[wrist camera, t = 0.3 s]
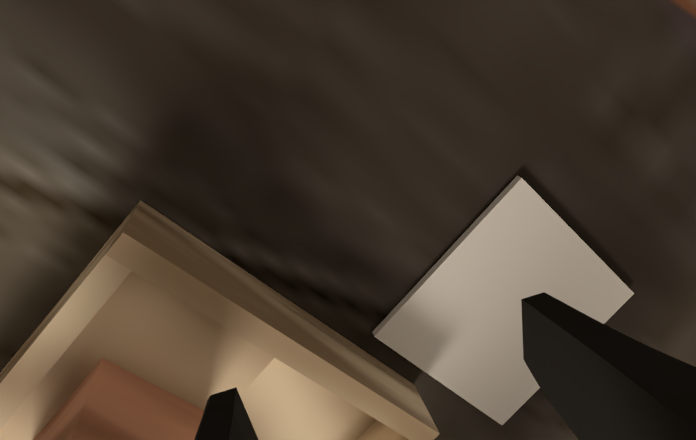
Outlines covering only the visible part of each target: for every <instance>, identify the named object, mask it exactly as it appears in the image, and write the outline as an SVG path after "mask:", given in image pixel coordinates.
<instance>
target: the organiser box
mask: <svg viewBox="0 0 696 440" xmlns="http://www.w3.org/2000/svg"><path fill="white" fill-rule="evenodd" d="M102 358H104V359H106V360H108V361H110V362H112V363H113V364H115V365H117V366H119V367H121V368H123V369H125V370H127V371H129V372H131V373H133V374H135V375H136V376H138V377H140V378H142V379H144V380H146V381H148V382H150V383H152V384H154V385H156V386H158V387H160V388H161V389H163V390H165V391H167V392H169V393H171V394H173V395H175V396H177V397H179V398H181V399H183V400H184V401H186V402H188V403H190V404H192V405H194V406H196V407H198V408H200V409H202V410H204V409H205V406H206V403H207V400H208V398H209V397H210V395H213V394H216V393H219V392H222V391H226V390H229V389H232V388H235V387H236V388H237V390H238V393H239V395H240V397H241V400H242V402H243V404H244V407H245V409H246V411H247V414H248V416H249V418H250V421H251V423H252V425H253V428H254V430H255V433H256V435H257V437H258V440H434V439H435V438H436V437H437V436H438V435H439V434H440V433H439V431H438V429H437V427H436V426H435V424H434V422H433V420H432V418H431V416H430V414H429V412H428V410H427V408H426V406H425V404H424V403H423V401H422V399H421V397H420V395H419V393H418V391H417V389H416V387H415V385H414V384H413V383H411V382H410V381H408V380H407V379H405V378H404V377H402V376H401V375H399V374H398V373H396V372H395V371H393V370H392V369H390V368H389V367H387V366H386V365H385V364H383V363H382V362H380V361H379V360H377V359H376V358H374V357H373V356H371V355H370V354H368V353H367V352H365V351H364V350H362V349H361V348H359V347H358V346H356V345H355V344H353V343H352V342H350V341H349V340H347V339H346V338H344V337H343V336H341V335H340V334H338V333H337V332H335V331H334V330H333V329H331V328H330V327H328V326H327V325H325V324H324V323H322V322H321V321H319V320H318V319H316V318H315V317H313V316H312V315H310V314H309V313H307V312H306V311H304V310H303V309H301V308H300V307H298V306H297V305H295V304H294V303H292V302H291V301H289V300H288V299H286V298H285V297H283V296H282V295H281V294H279V293H278V292H276V291H275V290H273V289H272V288H270V287H269V286H267V285H266V284H264V283H263V282H261V281H260V280H258V279H257V278H255V277H254V276H252V275H251V274H249V273H248V272H246V271H245V270H243V269H242V268H240V267H239V266H237V265H236V264H234V263H233V262H231V261H230V260H229V259H227V258H226V257H224V256H223V255H221V254H220V253H218V252H217V251H215V250H214V249H212V248H211V247H209V246H208V245H206V244H205V243H203V242H202V241H200V240H199V239H197V238H196V237H194V236H193V235H191V234H190V233H188V232H187V231H185V230H184V229H182V228H181V227H180V226H178V225H177V224H175V223H174V222H172V221H171V220H169V219H168V218H166V217H165V216H163V215H162V214H160V213H159V212H157V211H156V210H154V209H153V208H151V207H150V206H148V205H147V204H145V203H144V202H142V201H141V200H140V201H139V203H138V204H137V205H136V206H135V208H134V209H133V210H132V211H131V212H130V214H129V215H128V216H127V217H126V219H125V220H124V221H123V222H122V224H121V225H120V226H119V227H118V228H117V230H116V231H115V232H114V233H113V235H112V236H111V237H110V238H109V240H108V241H107V242H106V243H105V244H104V246H103V247H102V248H101V249H100V251H99V252H98V253H97V254H96V256H95V257H94V258H93V259H92V260H91V262H90V263H89V264H88V265H87V267H86V268H85V269H84V270H83V272H82V273H81V274H80V275H79V276H78V278H77V279H76V280H75V281H74V283H73V284H72V285H71V286H70V288H69V289H68V290H67V291H66V293H65V294H64V295H63V296H62V297H61V299H60V300H59V301H58V302H57V304H56V305H55V306H54V307H53V309H52V310H51V311H50V312H49V313H48V315H47V316H46V317H45V318H44V320H43V321H42V322H41V323H40V325H39V326H38V327H37V328H36V329H35V331H34V332H33V333H32V334H31V336H30V337H29V338H28V339H27V341H26V342H25V343H24V344H23V345H22V347H21V348H20V349H19V350H18V352H17V353H16V354H15V355H14V357H13V358H12V359H11V360H10V361H9V363H8V364H7V365H6V366H5V368H4V369H3V370H2V371H1V373H0V440H34V438H35V437H36V436H37V435H38V434H39V433H40V431H41V430H42V429H43V428H44V427H45V425H46V424H47V423H48V422H49V421H50V420H51V418H52V417H53V416H54V415H55V414H56V412H57V411H58V410H59V409H60V408H61V406H62V405H63V404H64V403H65V402H66V401H67V399H68V398H69V397H70V396H71V395H72V393H73V392H74V391H75V390H76V389H77V387H78V386H79V385H80V384H81V383H82V382H83V380H84V379H85V378H86V377H87V376H88V374H89V373H90V372H91V371H92V370H93V368H94V367H95V366H96V365H97V364H98V363H99V361H100V360H101V359H102Z"/></svg>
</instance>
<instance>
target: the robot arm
mask: <svg viewBox="0 0 696 440" xmlns="http://www.w3.org/2000/svg"><path fill="white" fill-rule="evenodd" d="M521 305H522V333H523V360H524V361H525V363H526V365H527V366H528V368H529V370H530V372H531V373H532V375H533V377H534V379H535V380H536V382H537V383H538V385H539V387H540V388H541V390H542V392H543V393H544V395H545V396H546V398H547V399H548V400H549V402H550V403H551V404H552V406H553V407H554V408H555V409H556V411H557V412H558V413H559V415H560V416H561V417H562V419H563V420H564V421H565V422H566V424H567V425H568V426H569V428H570V429H571V430H572V431H573V433H574V434H575V435H576V437H577V438H578V439H579V440H696V367H694V366H692V365H690V364H687V363H685V362H682V361H680V360H678V359H675V358H673V357H671V356H669V355H666V354H664V353H662V352H660V351H658V350H655V349H653V348H651V347H649V346H647V345H644V344H642V343H640V342H638V341H636V340H634V339H632V338H630V337H628V336H626V335H624V334H622V333H620V332H618V331H616V330H614V329H612V328H610V327H608V326H606V325H604V324H603V323H601V322H599V321H597V320H595V319H593V318H591V317H589V316H587V315H586V314H584V313H582V312H580V311H578V310H576V309H575V308H573V307H571V306H569V305H567V304H565V303H563V302H562V301H560V300H558V299H556V298H554V297H552V296H550V295H548V294H547V293H545V292H543V293H540V294H537V295H533V296H530V297H527V298H524V299H521ZM194 440H258V437H257V435H256V433H255V430H254V428H253V425H252V423H251V421H250V418H249V416H248V414H247V411H246V409H245V407H244V404H243V402H242V400H241V397H240V395H239V393H238V390H237V388H236V387H235V388H232V389H229V390H226V391H222V392H219V393H216V394H213V395H210V397H209V398H208V400H207V403H206V406H205V409H204V412H203V416H202V419H201V422H200V424H199V427H198V430H197V433H196V436H195V439H194Z"/></svg>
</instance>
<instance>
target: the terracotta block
mask: <svg viewBox="0 0 696 440" xmlns="http://www.w3.org/2000/svg"><path fill="white" fill-rule="evenodd" d="M203 412H204V410H202V409H200V408H198V407H196V406H194V405H192V404H190V403H188V402H186V401H184V400H183V399H181V398H179V397H177V396H175V395H173V394H171V393H169V392H167V391H165V390H163V389H161V388H160V387H158V386H156V385H154V384H152V383H150V382H148V381H146V380H144V379H142V378H140V377H138V376H136V375H135V374H133V373H131V372H129V371H127V370H125V369H123V368H121V367H119V366H117V365H115V364H113V363H112V362H110V361H108V360H106V359H104V358H102V359H101V360H100V361H99V363H98V364H97V365H96V366H95V367H94V368H93V370H92V371H91V372H90V373H89V374H88V376H87V377H86V378H85V379H84V380H83V382H82V383H81V384H80V385H79V386H78V387H77V389H76V390H75V391H74V392H73V393H72V395H71V396H70V397H69V398H68V399H67V401H66V402H65V403H64V404H63V405H62V406H61V408H60V409H59V410H58V411H57V412H56V414H55V415H54V416H53V417H52V418H51V420H50V421H49V422H48V423H47V424H46V425H45V427H44V428H43V429H42V430H41V431H40V433H39V434H38V435H37V436H36V437H35V438H34V440H194V439H195V436H196V433H197V430H198V427H199V424H200V422H201V419H202V416H203Z"/></svg>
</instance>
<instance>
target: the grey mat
mask: <svg viewBox="0 0 696 440" xmlns="http://www.w3.org/2000/svg"><path fill="white" fill-rule="evenodd" d="M543 292H545V293H547V294H548V295H550V296H552V297H554V298H556V299H558V300H560V301H562V302H563V303H565V304H567V305H569V306H571V307H573V308H575V309H576V310H578V311H580V312H582V313H584V314H586V315H587V316H589V317H591V318H593V319H595V320H597V321H599V322H601V323H603V324H604V323H605V322H606V321H607V320H608V319H609V318H610V317H611V316H612V315H613V314H614V313H615V312H616V311H617V310H618V309H619V308H620V307H621V306H622V305H623V304H624V303H625V302H626V301H627V300H628V299H629V298H630V297H631V296H632V295H633V294H634V293H633V292H632V291H631V290H630V289H629V288H628V287H627V285H626V284H625V283H624V282H623V281H622V280H621V279H620V278H619V277H618V276H617V275H616V274H615V273H614V272H613V271H612V270H611V269H610V268H609V267H608V266H607V265H606V264H605V263H604V262H603V261H602V260H601V259H600V258H599V257H598V256H597V255H596V254H595V253H594V252H593V251H592V250H591V248H590V247H589V246H588V245H587V244H586V243H585V242H584V241H583V240H582V239H581V238H580V237H579V236H578V235H577V234H576V233H575V232H574V231H573V230H572V229H571V228H570V227H569V226H568V225H567V224H566V223H565V222H564V221H563V220H562V219H561V218H560V217H559V216H558V215H557V214H556V212H555V211H554V210H553V209H552V208H551V207H550V206H549V205H548V204H547V203H546V202H545V201H544V200H543V199H542V198H541V197H540V196H539V195H538V194H537V193H536V192H535V191H534V190H533V189H532V188H531V187H530V186H529V185H528V184H527V183H526V182H525V181H524V180H523V179H522V178H521V177H519V176H516V177H515V178H514V179H513V180H512V182H511V183H510V184H509V185H508V186H507V187H506V188H505V189H504V190H503V191H502V192H501V193H500V195H499V196H498V197H497V198H496V199H495V200H494V201H493V202H492V203H491V204H490V205H489V206H488V207H487V209H486V210H485V211H484V212H483V213H482V214H481V215H480V216H479V217H478V218H477V219H476V220H475V222H474V223H473V224H472V225H471V226H470V227H469V228H468V229H467V230H466V231H465V232H464V233H463V234H462V236H461V237H460V238H459V239H458V240H457V241H456V242H455V243H454V244H453V245H452V246H451V247H450V248H449V250H448V251H447V252H446V253H445V254H444V255H443V256H442V257H441V258H440V259H439V260H438V261H437V263H436V264H435V265H434V266H433V267H432V268H431V269H430V270H429V271H428V272H427V273H426V274H425V275H424V277H423V278H422V279H421V280H420V281H419V282H418V283H417V284H416V285H415V286H414V287H413V288H412V290H411V291H410V292H409V293H408V294H407V295H406V296H405V297H404V298H403V299H402V300H401V301H400V302H399V304H398V305H397V306H396V307H395V308H394V309H393V310H392V311H391V312H390V313H389V314H388V315H387V317H386V318H385V319H384V320H383V321H382V322H381V323H380V324H379V325H378V326H377V327H376V328H375V329H374V331H373V332H372V333H373V335H374V337H375V338H377V339H378V340H380V341H381V342H383V343H384V344H386V345H387V346H388V347H390V348H391V349H393V350H394V351H396V352H397V353H398V354H400V355H401V356H403V357H404V358H406V359H407V360H409V361H410V362H411V363H413V364H414V365H416V366H417V367H419V368H420V369H421V370H423V371H424V372H426V373H427V374H429V375H430V376H432V377H433V378H434V379H436V380H437V381H439V382H440V383H442V384H443V385H444V386H446V387H447V388H449V389H450V390H452V391H453V392H455V393H456V394H457V395H459V396H460V397H462V398H463V399H465V400H466V401H467V402H469V403H470V404H472V405H473V406H475V407H476V408H478V409H479V410H480V411H482V412H483V413H485V414H486V415H488V416H489V417H490V418H492V419H493V420H495V421H496V422H498V423H499V424H501V425H503V424H504V423H505V422H506V421H507V420H508V419H509V418H510V417H511V416H512V415H513V414H514V413H515V412H516V411H517V410H518V409H519V408H520V407H521V406H522V405H523V404H524V403H525V402H526V401H527V400H528V399H529V398H530V397H531V396H532V395H533V394H534V393H535V392H536V391H537V390H538V389H539V388H540V387H539V385H538V383H537V382H536V380H535V379H534V377H533V375H532V373H531V372H530V370H529V368H528V366H527V365H526V363H525V361H524V360H523V333H522V305H521V299H524V298H527V297H530V296H533V295H537V294H540V293H543Z"/></svg>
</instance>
